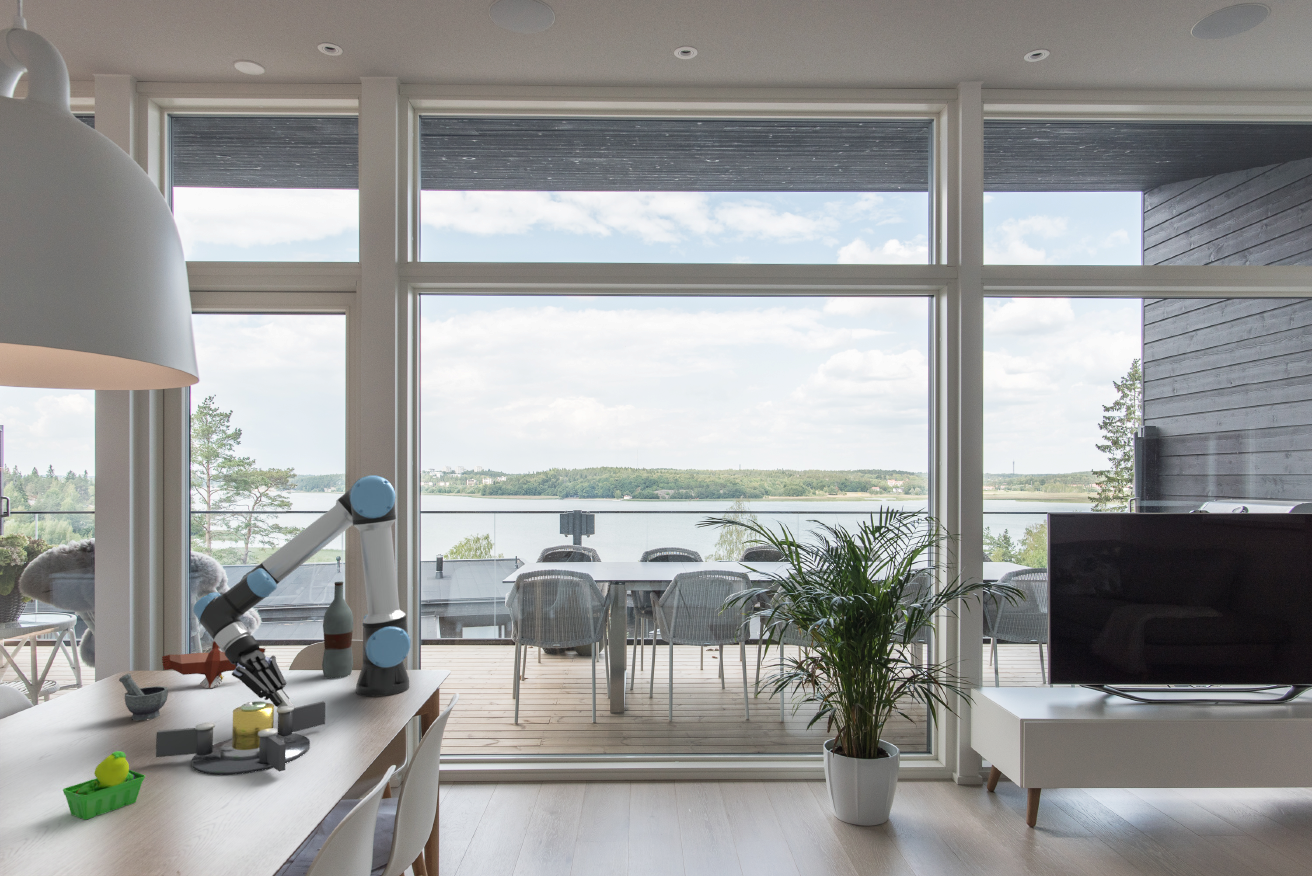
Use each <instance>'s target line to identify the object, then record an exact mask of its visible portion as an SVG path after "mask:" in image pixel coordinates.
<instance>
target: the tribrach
mask: <svg viewBox="0 0 1312 876" xmlns="http://www.w3.org/2000/svg"><path fill="white" fill-rule="evenodd" d="M274 715H275V705H274V704H273V703H272V702H271V703H270V702H266V701H259V700H258V701H252V702H251V701H249V702H246V703H243V704H242V705H241V706H237V707H235V708H234V709H233V710H232V736H231V737H232V738H229V739H226V740H223V741H219V742H217V743H213V752H212V753H211V754H208V755H202V756H198V755H196V754H194V756H193V757H192V759H191V767H192V769H193V770H194V771H196V772H198V773H201V774H205V775H214V776H220V775H221V776H230V775H233V776H234V775H243V774H249V772H250V773H256V772H261V771H265V769H266V770H268V769H269V768H270V769H273V768H274V767H273V766H271V765H270V764H269V763H268V762H267V763H261V762H259V741H260V736H258V732H259V731H261V730H264V729H269V728H274V727H275V726H274V718H275V717H274ZM276 737H277V738H278V739H279V740H281V741H282V742H284V743H285V744H286V755H285V763H286V764H288V763H291V762H292V761H295V760H297V759H299V758H301V757H302V756H304V755H305V754H307V752H309V750H310V746H311V743H310V742H311V741H310V738H309V737H307V736H305V735H304V734H299V733H295V732H292V734H291V735H289V736H281V735H278V731H277V734H276ZM303 754H304V755H303ZM300 756H301V757H300ZM290 761H291V762H290ZM287 762H288V763H287ZM270 769H269V770H270ZM255 771H256V772H255ZM242 773H243V774H242Z"/></svg>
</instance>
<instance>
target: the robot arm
mask: <svg viewBox="0 0 1312 876" xmlns="http://www.w3.org/2000/svg"><path fill="white" fill-rule="evenodd" d="M395 502H396V492H395V488H394V487H393V485H392V484H391V482H390V481H389V480H388V479H386V478H385V477H383V476H379V475H366V476H363V477H361V478H359V479H357V481H355V482H354V483H353V484H352V486H350V488H349V489H348V490H346V492H345V493H344V494H343V495H341V496H340V497H339V498H338V499H337V500H336V501H335V505H334V506H333V507H332V508H330V509H329V510H328V511H326V512H325V513H324V514H323V515H321V516H320V517H319V518H317V519H316V520H315V521H314V522H312V523H311V524H310V525H308V526H307V527H306V528H305V529H304V528H303V530H302V531H301V532H299V533H298V534H297V535H295V537H293V538H291V539H290V540H289V541H288V542H286V543H285V544H284V545H282V546H281V547H280V548H279V549H277V550H276V551H274V553H272V554H271V555H270V556H268V557H267V558H265V560H263V561H262V562H261V563H260V564H258V565H257V566H256V567H254V568H253V569H251V570H249V571H247V572H246V574H244V575H243V576H242V578H241V580H240V581H239V582H237V583H236V584H234V585H233V586H232V587H230V588H229V589H228V590H227V591H226V592H224V593H222V594H221V593H219V592H216V591H215V592H214V591H213V592H210V593H208V594H207V595H205V596H202V597H201V598H199V599H198V600H197V601H196V602H195V603H194V605H193V608H192V611H193V613H194V615H195V617H196V618H197V620H198V622H199V624H201V626H202V627H203V628H204V629H205V631H206V632H207V633H208V635H209V636H211V638H212V639H213V640H214V641H215V642H216V643H217V645H218V646H219V647H220V650H221V652H222V651H223V652H225V656H226V657H227V658H228V660H229V661H230V662H231V664H235V666H236V669H235V670H234V671H231V676H232V677H234V678H237V679H238V680H240V681H241V683H243V684H244V685H245V686H246V687H247V688H248V689H249V690H251V691H252V692H253V693H254V694H255V695H256V696H257V697H258V698H259V699H264V701H268V700H270V702H271V704H273V705H274V707H276V708H279V707H283V706H294V703H292V702H291V701H290V697H289V696H288V694H287V693H286V692H285V690H284V688H285V687H286V686H287V681H286V679H285V678H284V675H283V673H282V671H281V669H280V667H279V665H278V664H277V657H276V655H274V654H273V655H271V656H266V655H265V653H262V652H261V651H260V650H259V648H260V644H259V643H258V641H257V640H256V638H255V637H254V636H253V635H251V634H252V633H251V631H250V629H248V628H247V627H246V625H245V624H244V623H243V622H242V620H241V619H240V617H242V616H243V615H245V613H247V612H249V610H251V609H252V608H254V607H255V606H257V605H258V604H259V603H260V602H262V601H263V600H264V599H266V598H267V597H269V596H270V595H271V594H272V593H273V592H275V590H277V588H278V584H279V583H280V582H281V581H283V580H285V579H286V577H288V576H289V575H291V573H293V572H294V571H295V570H297V569H299V568H300V567H301V566H302V565H303V564H305V563H306V562H307V561H308V560H310V559H312V557H313V556H315V555H316V554H317V553H319V552H320V551H321V550H323V548H325V547H326V546H328V545H329V544H330V543H332V542H333V541H334V540H335V539H337V537H339V536H341V534H343V533H344V532H345V531H346V530H348V529H349V528H350V527H352V526H353V527H354V528H356V529H357V530H358V531H359V538H360V549H361V551H360V552H361V559H362V568H363V577H364V588H365V589H364V590H365V596H366V597H365V599H366V606H367V607H366V608H367V614H365V615H364V616H363V621H362V633H363V634H362V666H361V670H360V673H359V676H358V679H357V681H356V685H355V686H356V687H355V693H356V694H357V695H359V696H363V697H384V696H391V695H395V694H397V695H398V694H399V693H403V692H405V691H407V690H408V689H409V688H410V678H409V675H408V672H407V668H406V665H405V663H404V661H405V659H406V658H407V656H408V655H409V653H410V649H411V638H410V635H409V633H408V624H407V614H406V612H404V611H403V610H401V609H400V599H399V589H398V581H397V580H398V579H397V571H396V570H397V569H396V561H395V551H394V540H393V532H392V531H393V530H392V526H393V524H394V523H395V522H396V521H397V517H396V515H397V514H396V505H395ZM294 708H296V706H294Z"/></svg>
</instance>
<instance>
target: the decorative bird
mask: <svg viewBox="0 0 1312 876" xmlns="http://www.w3.org/2000/svg"><path fill="white" fill-rule="evenodd" d="M259 650H260V651H261V652H262V653H264V654H265V653H266V648H265V647H264V648H262V647H259ZM161 663H162V667H163V670H164V671H168V670H173V671H175V672H177V673H179V674H180V675H183V676H184V675H203V676H205V677H204V678H203V680H202V681H200V683H199V685H201V686H202V687H203V688H205V689H206V690H207V689H209V688H210V689H213V688H215V687H216V686H217V687H218V686H219V685H220V684H221V683H222V682H223V681H222V680H223V679H224V678H225V675H222V673H227V672H233V671H234V670H235V669H236V666H235V664H231V662H230V661H229V660H228V658H227V657H226V656H225V652H223V651H222V650H221V649H220V647H219V646H218V645H217V643H216V642H215V641H214V640H213V641H212V646H211V650H210V651H209V652H193V653H185V654H183V653H181V654H166V655H163V656H161Z"/></svg>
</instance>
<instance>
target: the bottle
mask: <svg viewBox="0 0 1312 876" xmlns="http://www.w3.org/2000/svg"><path fill="white" fill-rule="evenodd" d="M333 594H334V597H333V600H332V601H331V603H330V604H329V607H328V608H327V609H326V611H325V613H324V616H323V622H322V631H323V641H324V642H323V644H324V645H323V646H324V647H323V648H324V651H323V656H322V662H321V663H322V664H321V666H322V673H323V677H324V678H325V679H341V678H346V677H349V676H351V675H352V672H353V666H354V656H353V649H352V642H353V641H352V640H353V639H352V638H353V631H354V629H353V628H354V622H355V621H354V615H353V611H352V609H351V608H350V606H349V605H348V603H347V602H346V600H345V599H344V581H335V582H334V593H333ZM348 675H349V676H348ZM340 677H341V678H340Z"/></svg>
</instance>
